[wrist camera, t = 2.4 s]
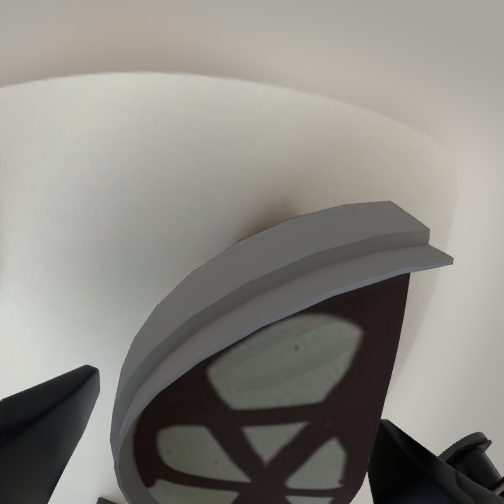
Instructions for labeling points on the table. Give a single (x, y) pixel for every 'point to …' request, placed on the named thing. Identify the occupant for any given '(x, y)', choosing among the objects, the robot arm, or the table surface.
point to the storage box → (103, 501)
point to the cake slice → (271, 364)
